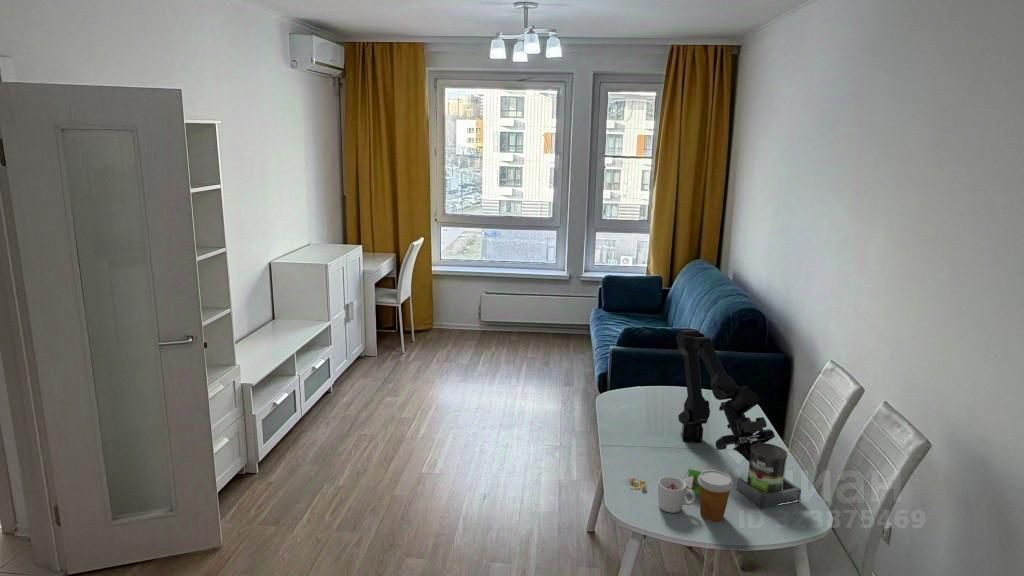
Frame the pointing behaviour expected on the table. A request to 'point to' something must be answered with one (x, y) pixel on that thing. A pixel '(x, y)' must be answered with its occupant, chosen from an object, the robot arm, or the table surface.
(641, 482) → the dice set
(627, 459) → the table surface
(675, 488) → the cup
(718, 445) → the robot arm
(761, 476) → the coffee can
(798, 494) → the grey shallow tray
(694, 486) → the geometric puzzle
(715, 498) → the disposable coffee cup
